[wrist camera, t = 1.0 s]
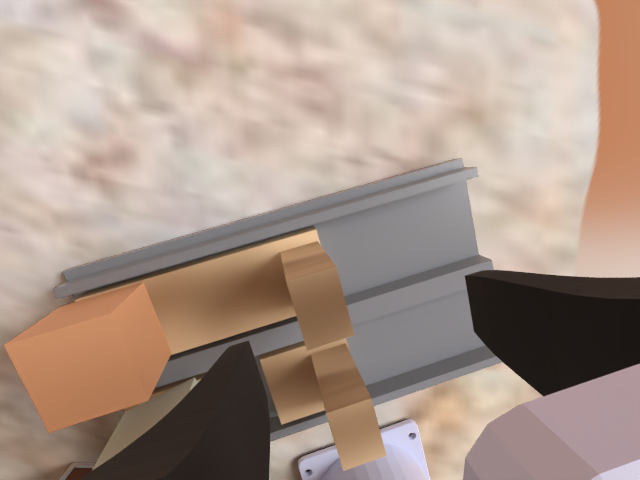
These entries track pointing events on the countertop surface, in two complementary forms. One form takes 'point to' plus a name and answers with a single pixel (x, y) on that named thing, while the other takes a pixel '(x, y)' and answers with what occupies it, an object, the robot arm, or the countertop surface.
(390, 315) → the lane board
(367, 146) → the countertop surface
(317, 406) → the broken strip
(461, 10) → the countertop surface
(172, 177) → the countertop surface
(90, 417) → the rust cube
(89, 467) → the food container
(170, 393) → the sage block
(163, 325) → the oak strip
